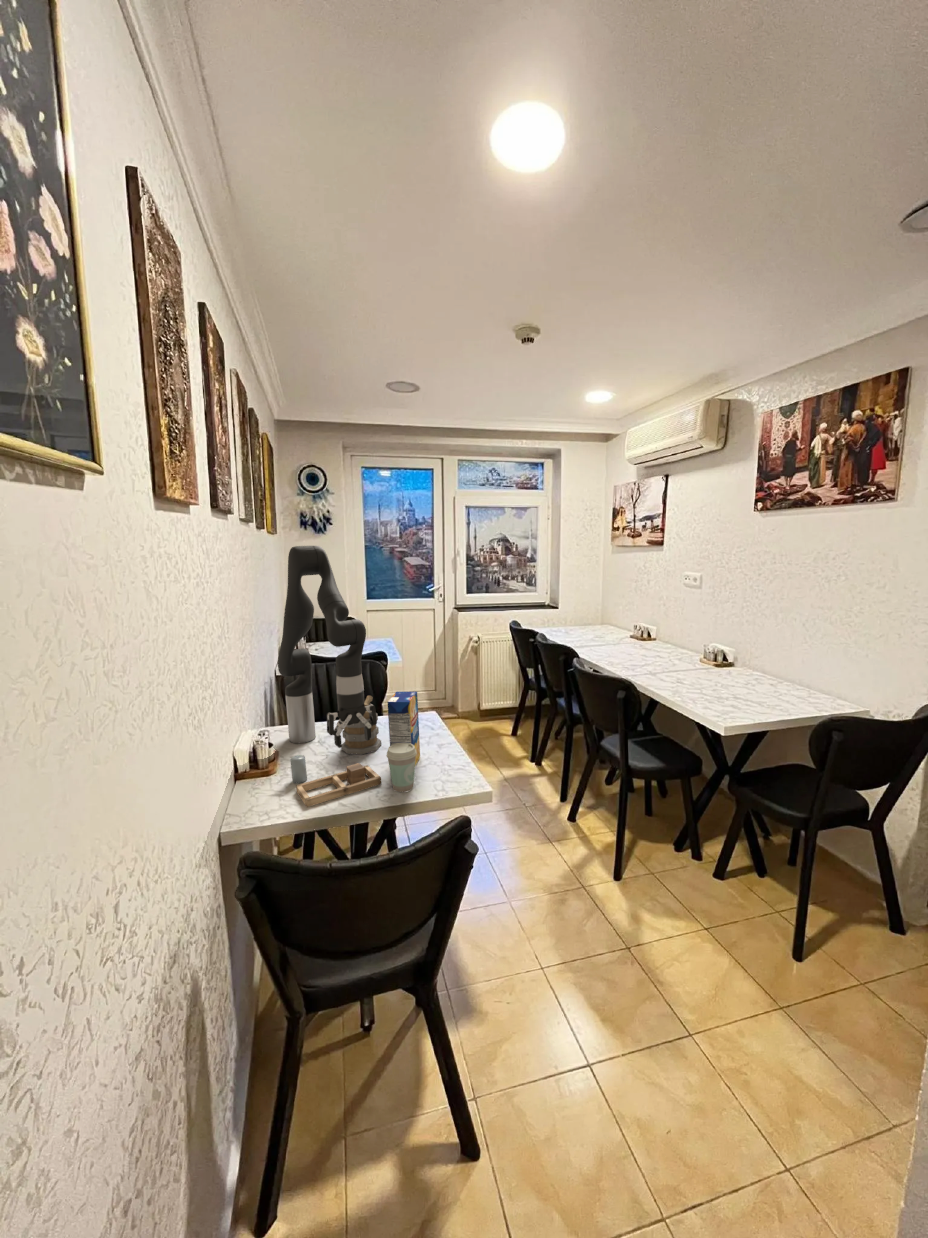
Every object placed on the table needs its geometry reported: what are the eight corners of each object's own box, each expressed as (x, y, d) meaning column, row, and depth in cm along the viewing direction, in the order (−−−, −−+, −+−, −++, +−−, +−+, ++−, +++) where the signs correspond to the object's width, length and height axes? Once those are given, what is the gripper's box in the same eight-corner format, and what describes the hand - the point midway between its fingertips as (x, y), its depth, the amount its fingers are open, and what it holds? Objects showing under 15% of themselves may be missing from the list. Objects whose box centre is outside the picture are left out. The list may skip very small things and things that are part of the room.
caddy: (296, 792, 140) (295, 785, 140) (367, 771, 152) (367, 765, 152) (307, 807, 132) (306, 800, 132) (381, 784, 144) (381, 777, 143)
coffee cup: (405, 797, 135) (403, 756, 134) (382, 790, 140) (379, 750, 138) (424, 784, 142) (422, 745, 141) (401, 778, 147) (399, 739, 145)
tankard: (372, 755, 164) (370, 712, 162) (336, 754, 166) (333, 711, 164) (391, 733, 183) (388, 694, 181) (358, 732, 185) (356, 693, 183)
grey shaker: (290, 780, 148) (288, 757, 147) (304, 775, 151) (302, 754, 150) (294, 784, 145) (292, 762, 144) (309, 780, 147) (306, 758, 146)
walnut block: (347, 782, 145) (346, 766, 145) (360, 778, 148) (359, 762, 147) (352, 787, 142) (351, 771, 141) (365, 783, 144) (364, 767, 144)
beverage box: (391, 770, 152) (387, 702, 149) (399, 755, 163) (396, 691, 160) (413, 771, 151) (409, 702, 148) (420, 756, 162) (417, 691, 159)
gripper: (368, 682, 148) (371, 733, 150) (321, 691, 140) (325, 745, 142) (378, 688, 141) (381, 741, 144) (330, 697, 134) (333, 754, 136)
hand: (353, 743), depth 143 cm, fingers open, 8 cm apart
